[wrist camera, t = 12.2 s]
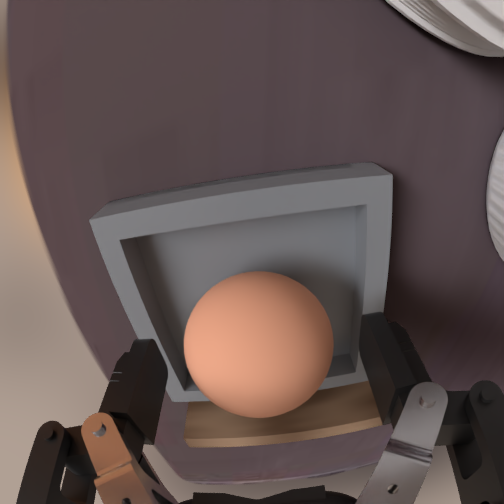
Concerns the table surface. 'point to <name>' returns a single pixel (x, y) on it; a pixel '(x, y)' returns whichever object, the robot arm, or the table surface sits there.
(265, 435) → the wall
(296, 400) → the ball
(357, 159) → the table surface
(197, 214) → the tray
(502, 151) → the ramekin
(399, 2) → the lid
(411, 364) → the robot arm
